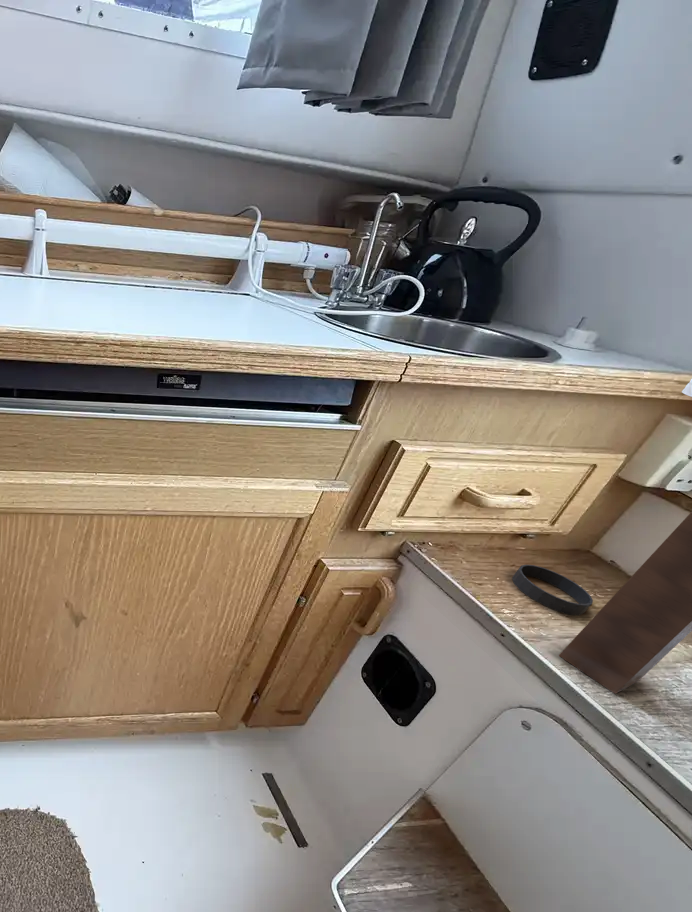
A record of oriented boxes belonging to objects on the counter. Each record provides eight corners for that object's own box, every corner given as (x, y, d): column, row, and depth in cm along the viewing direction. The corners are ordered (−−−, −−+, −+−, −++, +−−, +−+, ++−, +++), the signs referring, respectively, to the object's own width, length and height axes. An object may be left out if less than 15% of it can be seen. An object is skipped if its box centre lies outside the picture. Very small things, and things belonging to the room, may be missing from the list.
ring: (575, 592, 89) (583, 582, 88) (591, 624, 81) (600, 614, 80) (508, 566, 92) (515, 557, 91) (517, 595, 85) (525, 585, 84)
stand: (636, 682, 71) (863, 469, 55) (614, 694, 69) (846, 474, 53) (580, 645, 76) (774, 440, 60) (558, 655, 73) (754, 443, 57)
